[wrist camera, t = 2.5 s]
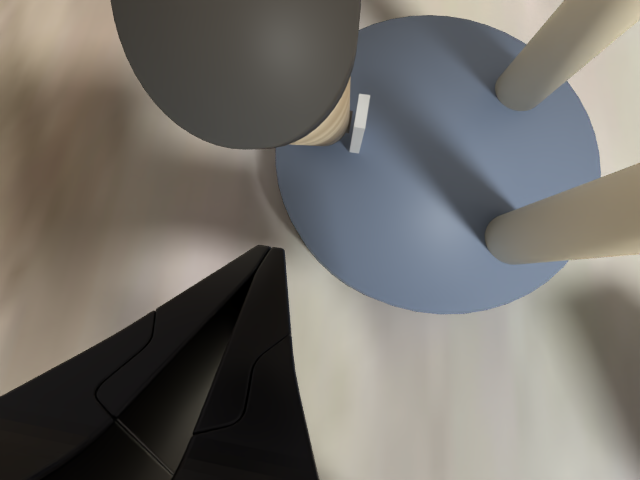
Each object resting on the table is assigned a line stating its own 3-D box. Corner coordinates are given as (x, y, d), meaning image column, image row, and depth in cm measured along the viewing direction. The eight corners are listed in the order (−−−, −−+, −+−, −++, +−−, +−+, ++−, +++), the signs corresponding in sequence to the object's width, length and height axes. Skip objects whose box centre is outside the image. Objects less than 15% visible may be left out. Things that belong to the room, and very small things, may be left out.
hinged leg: (346, 151, 16) (337, 164, 4) (296, 144, 16) (128, 132, 4) (355, 93, 14) (388, -175, 2) (301, 86, 15) (84, -197, 3)
